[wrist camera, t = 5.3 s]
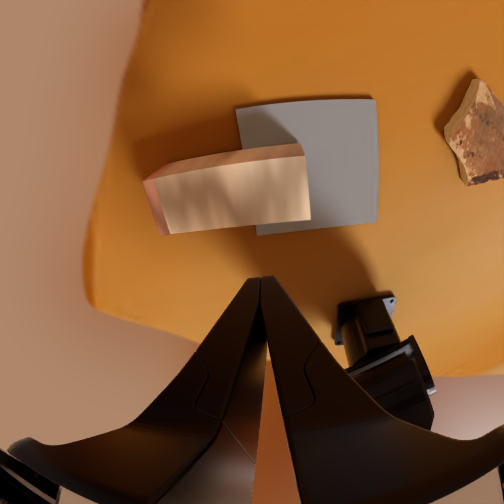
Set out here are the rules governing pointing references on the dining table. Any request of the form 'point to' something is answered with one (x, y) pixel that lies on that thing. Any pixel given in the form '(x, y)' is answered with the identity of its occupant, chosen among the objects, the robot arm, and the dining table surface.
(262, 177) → the block
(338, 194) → the mat
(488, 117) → the shard
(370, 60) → the dining table surface
